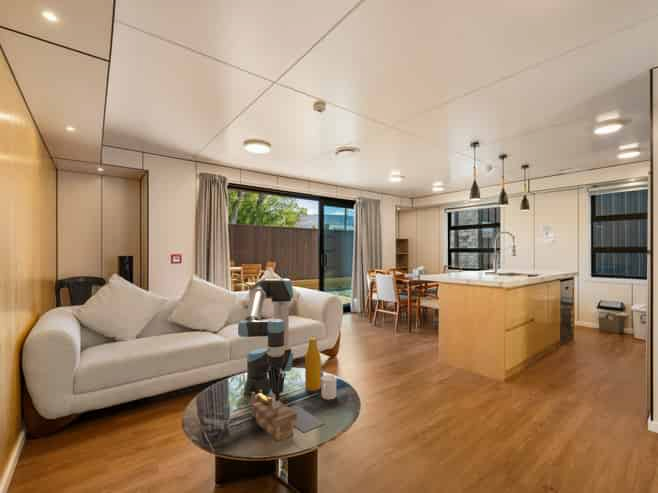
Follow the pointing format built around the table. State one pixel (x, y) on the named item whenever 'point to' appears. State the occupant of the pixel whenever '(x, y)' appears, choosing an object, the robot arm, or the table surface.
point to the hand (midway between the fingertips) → (276, 406)
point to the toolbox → (277, 432)
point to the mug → (328, 387)
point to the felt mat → (305, 420)
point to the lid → (275, 413)
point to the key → (265, 398)
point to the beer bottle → (312, 366)
